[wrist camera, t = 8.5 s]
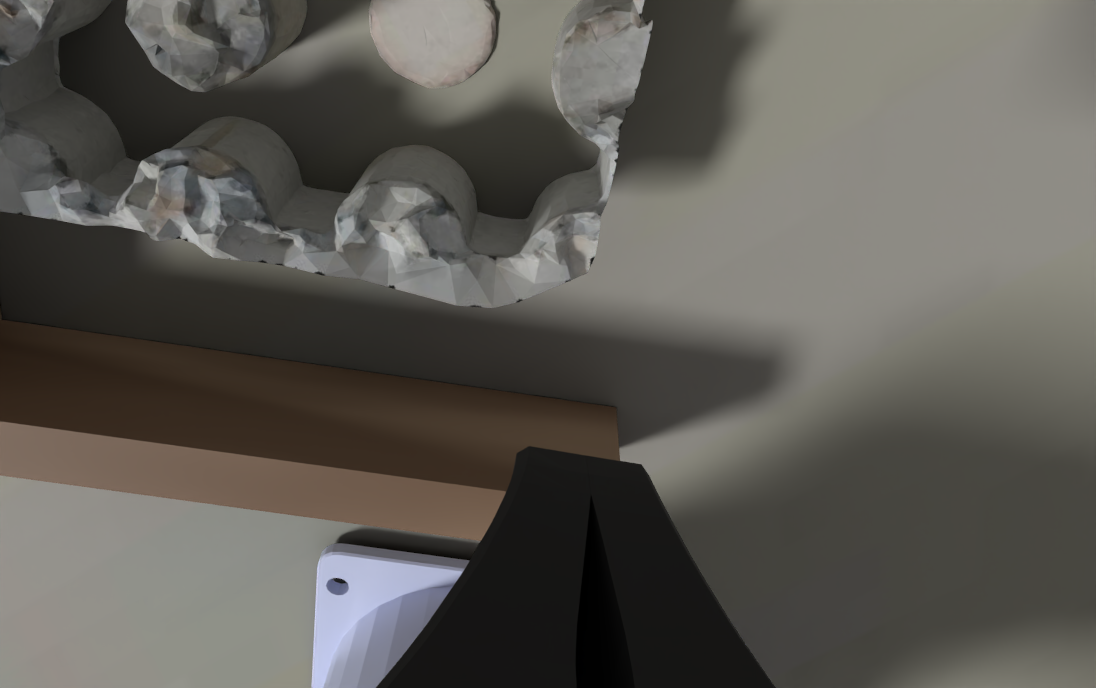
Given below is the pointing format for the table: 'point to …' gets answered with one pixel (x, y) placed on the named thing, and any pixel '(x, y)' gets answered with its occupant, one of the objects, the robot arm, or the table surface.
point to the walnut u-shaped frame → (273, 431)
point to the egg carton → (271, 169)
